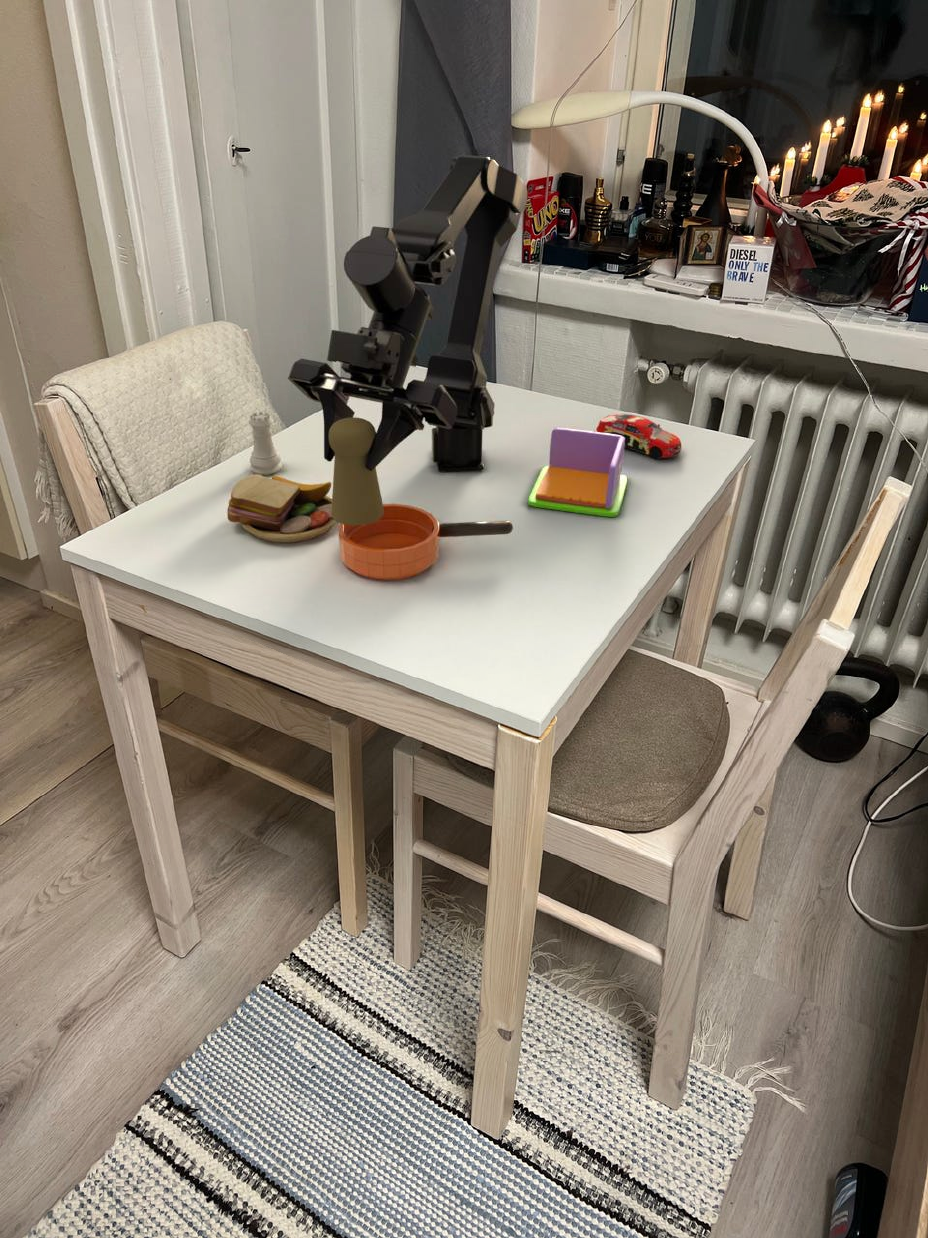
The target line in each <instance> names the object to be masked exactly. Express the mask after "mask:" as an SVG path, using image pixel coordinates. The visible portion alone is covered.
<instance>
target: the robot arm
mask: <svg viewBox="0 0 928 1238" xmlns="http://www.w3.org/2000/svg"><path fill="white" fill-rule="evenodd" d="M527 200H528V188H527V185H526V183H525V182H524V181H523V179H522V178H521V177H520V176H519V174H517V173H515V172H513V171H511V170H509V169H507V168H505V167H503V166H501V165H499V164H498V163H497V162H496V160H495V159H493V158H490V156H481V155H467V154H466V155H464V154H460V155H459V156H455V157H454V158H453V159H452V161H451V164H450V168H449V172H448V173H447V174H446V176H445V177H444V178H443V180H442V182H441V183H440V184H439V186H438V187H437V189H436V190H435V191H434V192H433V194H432V196H431V197H430V198H429V200H428V201H427V203H426V204H425V206H424V207H423V208H422V210H420V211H419V212H418V213H416V214H413V215H410V216H407V217H404V218H401V220H399V221H398V222H397V223H396V224H394V225H393V227H385V226H372V227H371V231H370V234H369V235H367V236H365V237H362V238H360V239H359V240H358V241H356V242H355V243H354V244H353V245H352V246H351V247H350V248H349V250H347V252H346V253H345V255H344V259H343V269H344V272H345V275H346V276H347V279H349V282H351V284H352V286H353V287H354V289H355V290H356V292H357V293H358V295H359V296H360V297H361V299H362V300H363V302H364V303H365V305H366V306H367V307H368V308H369V309H370V310H371V311H373V313H372V316H371V319H370V322H369V325H368V327H365V326H361V327H360V328H359V329H358V331H357V333H354V332H349V331H348V332H347V331H343V330H336V329H331V332H330V338H329V346H328V349H327V350H328V351H327V358H326V361H327V362H331V363H333V362H334V363H337V362H338V363H342V364H341V367H340V368H341V369H342V370H343V371H344V373H347V374H349V375H350V377H344V376H340V375H339V374H338V373H336V371H335V370H334V369H333V368H332V367H331V366H330V365H329V364H328V363H327V362H322V361H319V360H318V361H317V360H311V359H307V358H299V359H298V360H296V361H294V362H293V364H292V366H291V368H290V371H289V374H288V376H287V380H289V382H291V383H292V384H293V385H294V386H295V387H296V389H298V390H299V391H300V393H302V394H303V395H304V396H305V397H306V398H308V399H309V400H310V401H314V402H315V403H316V402H317V403H320V405H321V408H322V417H323V458H324V460H325V461H327V462H329V463H330V462H332V461H333V459H335V452H334V451H333V449H332V448H331V446H330V444H329V430H330V428H331V426H332V425H333V423H335V422H337V421H338V420H341V419H344V418H352V417H355V413H356V412H355V411H354V410H353V409H352V408H351V407H350V406H349V405H348V402H349V399H350V397H351V398H356V399H359V400H364V401H365V400H366V401H370V402H375V403H380V404H381V419H380V422H379V425H378V427H377V430H376V435H375V438H374V440H373V443H372V446H371V448H370V451H369V454H368V457H367V461H366V465H365V467H366V469H367V470H369V471H372V470H373V469H374V468H375V467H376V468H377V467H378V466H379V464H381V462H382V461H384V459H385V458H387V457H388V455H389V454H391V452H393V450H394V449H395V448H397V446H398V445H400V444H401V443H402V442H404V441H405V440H406V439H407V438H409V436H411V435H412V434H414V432H416V431H424V429H425V424H424V423H423V422H425V423H427V425H429V426H434V427H432V428H431V457H432V461H433V463H435V464H436V469H437V471H438V472H460V471H461V472H462V471H482V470H484V469H485V465H484V461H483V432H484V431H483V430H485V429H487V428H491V427H493V425H494V424H493V423H494V415H495V406H496V405H495V402H494V400H493V398H492V396H491V395H490V394H491V393H489V390H488V388H487V383H488V376H487V374H486V370H485V368H484V365H483V362H482V359H481V350H482V347H483V342H484V341H483V340H484V336H485V331H486V327H487V326H486V325H487V321H488V315H489V310H490V305H491V301H492V296H493V290H494V285H495V280H496V275H497V271H498V265H499V261H500V255H501V250H502V247H503V246H504V245H505V244H506V243H507V242H508V241H509V240H510V238H511V237H512V236H513V235H514V234H515V233H516V232H517V230H518V227H519V222H520V219H521V215H522V214H523V213H524V211H525V209H526V206H527ZM463 229H464V231H465V234H466V238H465V239H466V240H465V244H464V250H463V256H462V260H461V266H460V271H459V276H458V280H457V286H456V291H455V297H454V301H453V306H452V312H451V315H450V316H451V317H450V321H449V327H448V332H447V337H446V342H445V346H444V347H443V348H442V350H441V351H439V353H438V354H432V355H430V358H429V359H428V361H427V369H426V375H425V378H424V380H419V379H412V380H411V381H410V382H408V383H407V385H406V388H405V387H404V384H405V381H406V378H407V375H408V373H409V370H410V367H413V368H414V367H415V368H416V367H417V364H418V361H419V357H418V356H417V354H416V350H417V347H418V344H419V341H420V339H421V335H422V332H423V331H424V327H425V324H426V321H427V320H429V321H430V320H431V321H432V320H433V319H434V317H435V315H434V312H435V311H434V307H433V305H432V302H431V299H430V297H431V296H430V294H429V293H427V292H426V291H425V289H424V288H423V287H421V286H420V284H421V285H428V286H438V287H440V286H442V285H443V284H444V283H446V281H447V279H448V278H449V276H451V274H452V273H453V271H454V267H455V265H456V262H457V256H456V251H455V241H456V240H457V238H458V237H459V235H460V234H461V232H462V230H463ZM418 284H419V285H418Z"/></svg>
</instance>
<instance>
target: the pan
mask: <svg viewBox="0 0 928 1238" xmlns="http://www.w3.org/2000/svg"><path fill="white" fill-rule="evenodd" d="M383 508H384V514H383V516H382V517H381V518H380V519H379V520H378V521H375V522H373V523H370V524H366V525H357V526H353V525H345V524H342V523H339V524H338V542H339V556H340V557H339V558H340V560H341V561H342V563H343V565H345V566H346V567H347V568H349V569H351V570H352V571H353V572H354V573H357V574H358V575H360V576H363V577H366V578H369V579H375V580H384V581H389V580H390V581H392V580H402V579H406V578H411V577H415V576H417V575H419V574H422V573H423V572H425V571H426V570H427V569H429V568H430V567H431V566H432V565H434V563H435V562H436V561H437V559H438V557H439V555H440V537H439V525H438V524H439V520H438V519H437V518H436V516H434V515H433V514H432V513H431V512H429V511H427V510H425V509H423V508H421V507H417V506H413V505H411V504H404V503H403V504H402V503H383ZM433 527H434V530H433V532H432V528H433Z"/></svg>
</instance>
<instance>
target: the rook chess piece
mask: <svg viewBox="0 0 928 1238" xmlns="http://www.w3.org/2000/svg"><path fill="white" fill-rule="evenodd" d="M273 422H274V420H273V419H272V417H271V414H270V413H269V412H268V411H264V412H263V410H260V411H259V410H258V414H257V412H256V411H254V412H252V413H251V414H250V418H249V420H248V424H249V425H250V426H251V427H252V430H251V434H252V437H253V451H252V452H251V456H250V457H249V463H250V465H249V469H250V470H251V471H252V472H253V473H254V474H259V475H262V476H270V475H274V474H277V473H278V472H280V470H281V469H282V468H283V463H282V462H281V461H282V458H281V455H280V454H279V453H278V451H277V450H276V448H275V446H274V441H273V438H272V437H273V436H272V433H273V429H272V428H271V426H272V424H273Z"/></svg>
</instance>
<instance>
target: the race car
mask: <svg viewBox="0 0 928 1238" xmlns="http://www.w3.org/2000/svg"><path fill="white" fill-rule="evenodd" d="M596 432H600V433H609V434H616V435H621V436H623V437H624V438H625V445H624V448H626V449H629V450H633V451H635V452H639V453H642V454H645V455H650V457H651V458H652V459H653V460H660V459H662V458H672V457H675V456H679V454H680V453H681V451H682V442H681V439H680V437H679V436H677V435H675V434H674V433H672V432H669V431H667V430H666V429H663V428H662V427H661V424H657V423H656V422H653V421H652V420H651V419H649V418H646V417H643V416H639V415H637V414H636V415H635V414H626V413H624V414H623V413H622V414H609V415H606V416H604V417H603V418H601V419H600V421H599V422H598V425H597V426H596Z"/></svg>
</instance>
